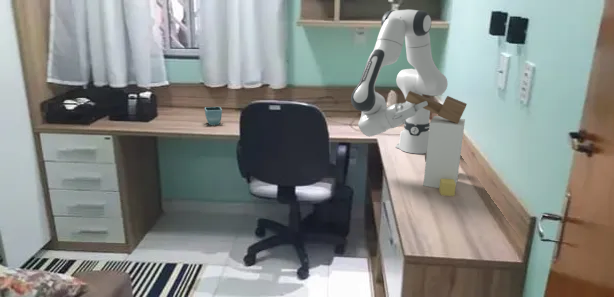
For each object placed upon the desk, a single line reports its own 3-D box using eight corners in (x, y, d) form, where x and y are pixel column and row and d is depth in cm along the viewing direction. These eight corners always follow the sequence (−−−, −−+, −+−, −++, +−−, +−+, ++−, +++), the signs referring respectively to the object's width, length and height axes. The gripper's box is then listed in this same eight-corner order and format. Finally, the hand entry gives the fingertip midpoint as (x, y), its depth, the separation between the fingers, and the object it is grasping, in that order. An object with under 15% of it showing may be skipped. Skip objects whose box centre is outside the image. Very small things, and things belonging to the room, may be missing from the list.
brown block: (407, 98, 201) (414, 82, 198) (459, 119, 196) (466, 103, 194) (404, 101, 195) (411, 84, 192) (457, 123, 190) (465, 107, 187)
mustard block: (439, 190, 194) (440, 178, 193) (452, 191, 194) (453, 179, 193) (440, 195, 190) (442, 183, 188) (454, 196, 189) (455, 184, 188)
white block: (427, 176, 209) (434, 115, 202) (457, 180, 205) (465, 119, 198) (423, 185, 199) (430, 122, 191) (454, 190, 195) (462, 126, 187)
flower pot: (204, 122, 283) (204, 107, 280) (220, 121, 286) (220, 106, 283) (206, 126, 275) (206, 110, 272) (222, 125, 278) (222, 109, 275)
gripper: (387, 113, 192) (420, 98, 185) (398, 103, 210) (428, 89, 204) (394, 128, 192) (428, 114, 186) (404, 116, 210) (435, 103, 204)
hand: (428, 101), depth 195 cm, fingers closed on brown block, 3 cm apart
